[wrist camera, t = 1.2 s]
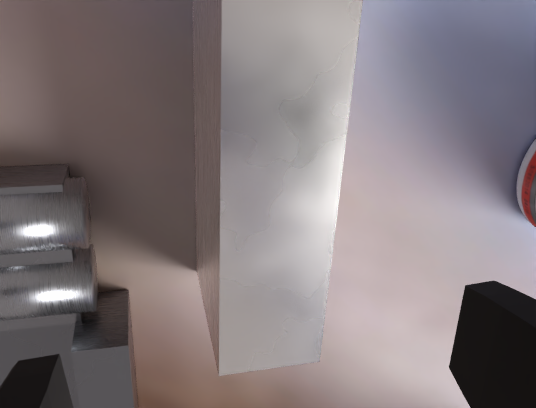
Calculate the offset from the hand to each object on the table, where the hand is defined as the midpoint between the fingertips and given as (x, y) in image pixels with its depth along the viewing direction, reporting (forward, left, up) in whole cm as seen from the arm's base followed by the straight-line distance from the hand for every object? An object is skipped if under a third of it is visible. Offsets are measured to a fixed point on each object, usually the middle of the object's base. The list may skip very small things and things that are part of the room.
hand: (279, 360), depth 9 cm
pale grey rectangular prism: (-1, -1, -10) cm, 10 cm away
